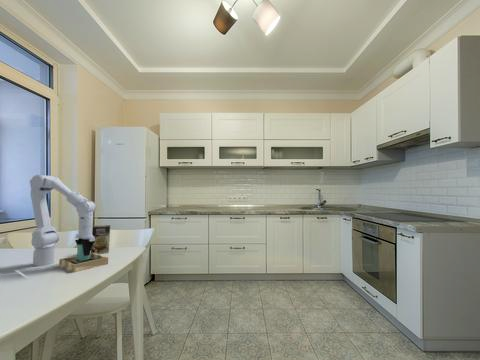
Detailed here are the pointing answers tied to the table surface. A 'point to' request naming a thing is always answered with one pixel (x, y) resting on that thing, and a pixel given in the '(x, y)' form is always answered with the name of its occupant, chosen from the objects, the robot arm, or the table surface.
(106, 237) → the coffee box
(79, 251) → the teal peg
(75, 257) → the oak box
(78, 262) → the frame
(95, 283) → the table surface
